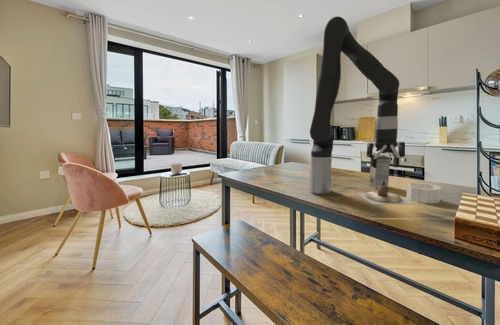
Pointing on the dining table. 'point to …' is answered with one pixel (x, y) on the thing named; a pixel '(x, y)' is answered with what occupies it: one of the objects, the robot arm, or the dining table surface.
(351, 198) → the dining table surface
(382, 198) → the lid
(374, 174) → the coffee box
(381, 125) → the robot arm
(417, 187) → the bowl
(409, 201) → the mat
